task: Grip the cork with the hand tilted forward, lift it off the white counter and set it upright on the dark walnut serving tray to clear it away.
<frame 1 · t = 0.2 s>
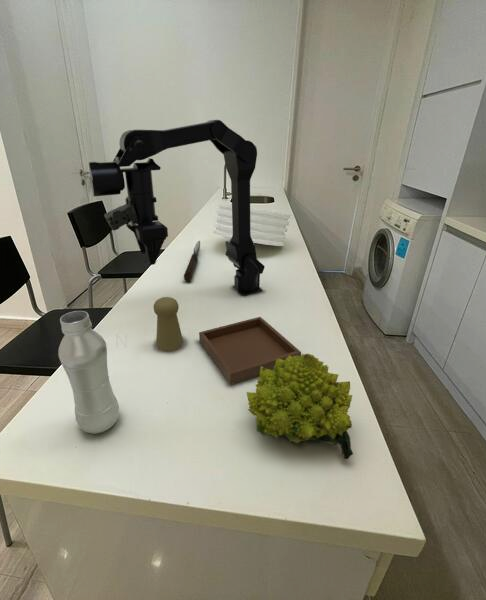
hand: (147, 258, 81), 15 cm above the table, tool pointing down, fingers open, 9 cm apart
tray: (247, 351, 70), on the table
vegetable: (296, 422, 53), on the table
cork: (170, 344, 74), on the table
plastic bottle: (100, 424, 54), on the table
plate stack: (248, 239, 130), point 4 cm above the table
kitchen knife: (198, 255, 118), point 3 cm above the table
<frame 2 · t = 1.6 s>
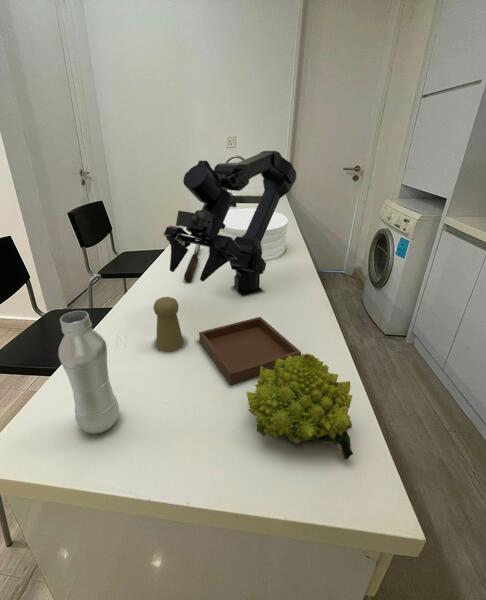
hand: (185, 275, 74), 13 cm above the table, tool tilted 40°, fingers open, 9 cm apart
plate stack: (248, 247, 130), point 1 cm above the table
everything else where it was.
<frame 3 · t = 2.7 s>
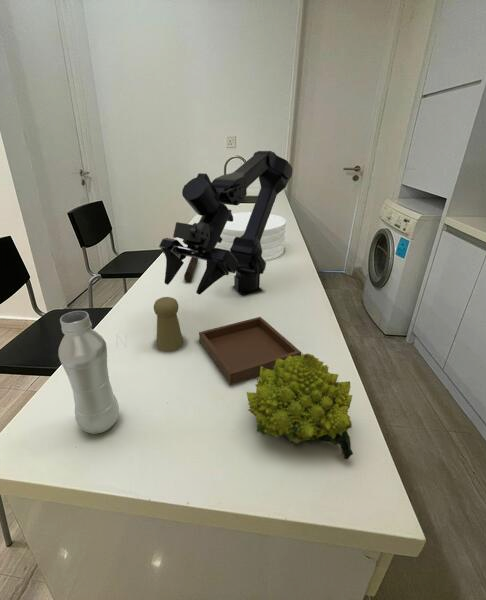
hand: (181, 288, 72), 12 cm above the table, tool tilted 45°, fingers open, 9 cm apart
plate stack: (247, 250, 130), on the table
everything else where it was.
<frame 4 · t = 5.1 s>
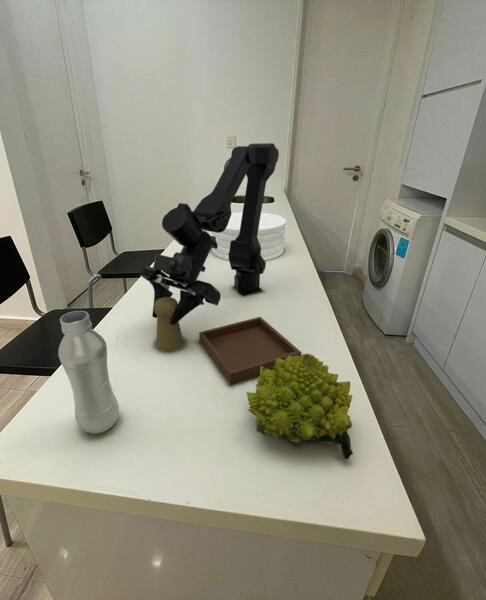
hand: (162, 320, 70), 7 cm above the table, tool tilted 45°, fingers closed on cork, 5 cm apart
cork: (170, 344, 74), on the table, touching gripper
everything else where it was.
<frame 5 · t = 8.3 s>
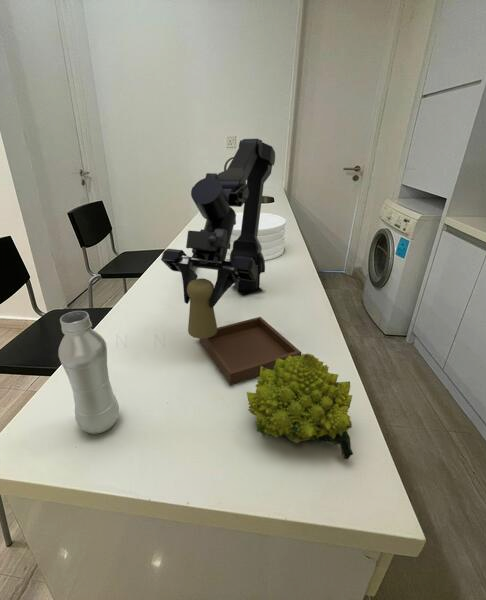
hand: (198, 305, 63), 12 cm above the table, tool tilted 45°, fingers closed on cork, 5 cm apart
cork: (202, 331, 68), point 5 cm above the table, touching gripper
everything else where it was.
when the fingers open (7 cm above the table, at t = 11.9 s): cork stays where it is, resting on tray.
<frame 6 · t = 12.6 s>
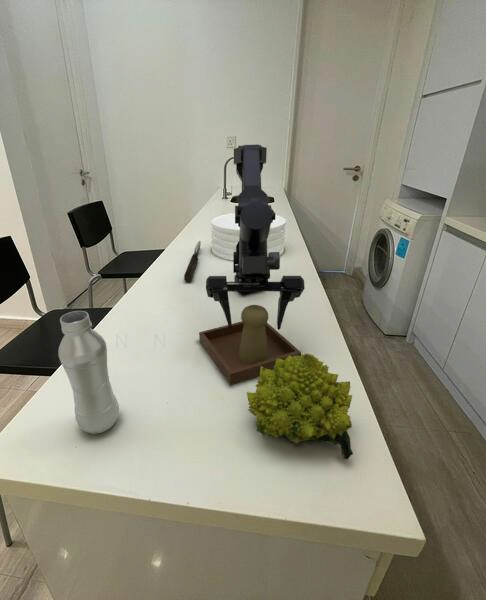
hand: (254, 329, 63), 8 cm above the table, tool tilted 45°, fingers open, 9 cm apart
cork: (253, 356, 68), resting on tray
everything else where it was.
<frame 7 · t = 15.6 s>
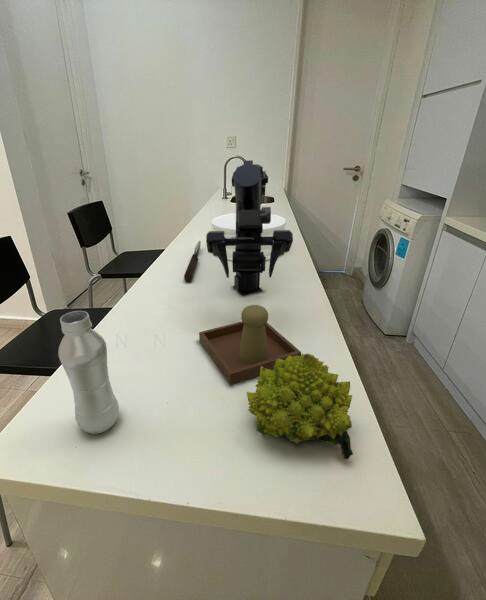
hand: (249, 277, 72), 13 cm above the table, tool tilted 45°, fingers open, 9 cm apart
nothing on the table moved.
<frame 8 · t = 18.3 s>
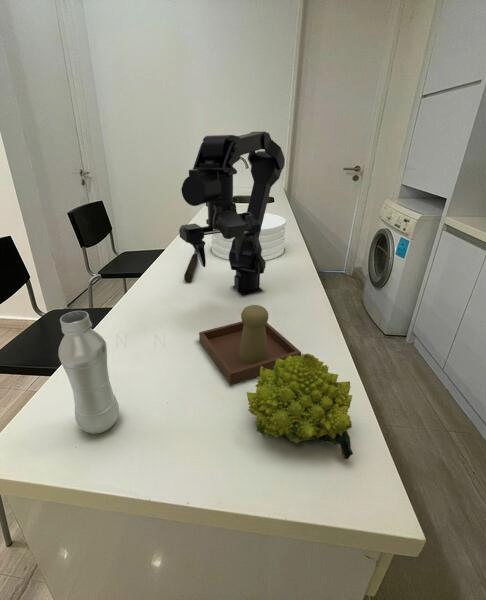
hand: (221, 263, 81), 13 cm above the table, tool pointing down, fingers open, 9 cm apart
nothing on the table moved.
at the end: cork inside the target area in the tray (2.4 cm from its centre), point 0.4 cm above the tray's base; cork tilted 0° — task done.
